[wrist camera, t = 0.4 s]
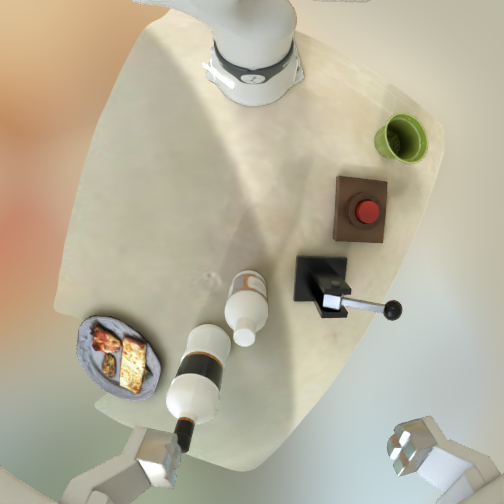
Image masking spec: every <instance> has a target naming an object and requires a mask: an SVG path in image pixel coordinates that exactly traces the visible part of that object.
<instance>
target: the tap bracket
mask: <svg viewBox="0 0 504 504" xmlns="http://www.w3.org/2000/svg"><path fill="white" fill-rule="evenodd" d="M346 265H347V258H346V257H324V256H296V270H295V283H294V295H293V300H294V301H313V302H314V304H315V306H316V308H317V310H318V312H319V314H320V316H321V318H347V314H348V312H347V310H346V309H345V307H344V306H343V305H342V306H341V307H340V309H339V310H338V309H333V308H328V307H324V306H323V301H324V295H351V288H350V287H349V285H348V284H347V283H346V282H345V273H346Z"/></svg>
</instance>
